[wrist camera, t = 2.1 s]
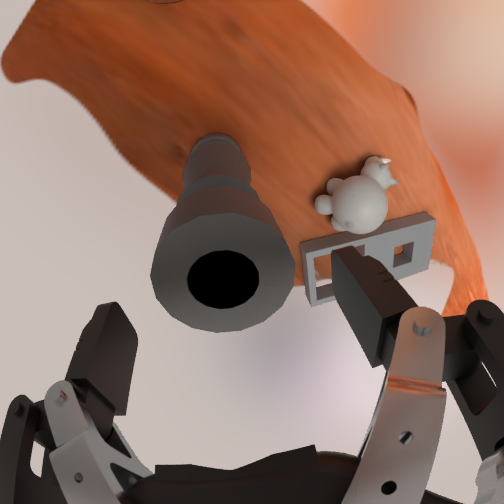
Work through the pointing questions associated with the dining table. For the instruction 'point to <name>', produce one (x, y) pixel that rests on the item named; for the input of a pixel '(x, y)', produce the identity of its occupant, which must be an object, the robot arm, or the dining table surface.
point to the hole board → (374, 250)
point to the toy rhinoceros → (358, 198)
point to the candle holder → (221, 246)
